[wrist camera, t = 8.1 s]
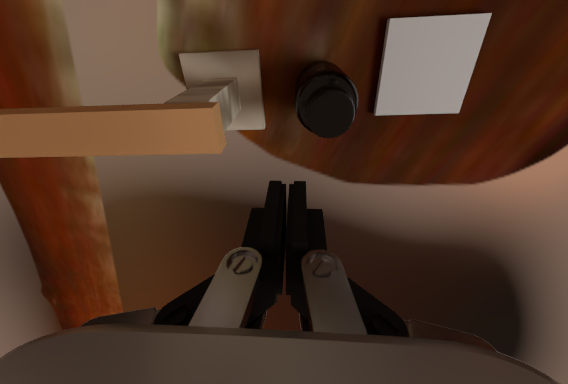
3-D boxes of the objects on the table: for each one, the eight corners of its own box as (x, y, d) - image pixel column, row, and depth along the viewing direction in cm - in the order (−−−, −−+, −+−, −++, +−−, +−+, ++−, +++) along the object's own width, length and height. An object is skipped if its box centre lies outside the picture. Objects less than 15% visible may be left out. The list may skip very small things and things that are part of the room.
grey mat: (387, 18, 30) (390, 18, 29) (486, 13, 29) (491, 13, 28) (373, 113, 36) (375, 115, 35) (455, 110, 35) (458, 112, 34)
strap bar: (-32, 110, 24) (-57, 116, 22) (218, 101, 22) (212, 108, 20) (-4, 149, 26) (-25, 158, 24) (226, 144, 24) (220, 153, 23)
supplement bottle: (293, 112, 36) (291, 145, 26) (297, 59, 32) (296, 73, 22) (341, 115, 36) (357, 150, 26) (351, 62, 32) (373, 78, 22)
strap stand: (182, 52, 33) (118, 67, 21) (258, 49, 32) (235, 62, 21) (199, 128, 38) (156, 171, 27) (265, 126, 38) (250, 170, 26)
